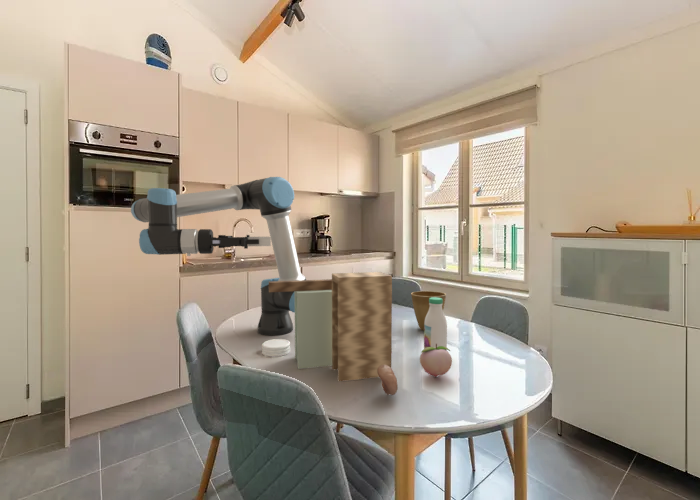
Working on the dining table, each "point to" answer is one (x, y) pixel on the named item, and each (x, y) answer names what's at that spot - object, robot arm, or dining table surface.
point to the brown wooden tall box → (361, 324)
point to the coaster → (276, 347)
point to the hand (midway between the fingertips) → (270, 241)
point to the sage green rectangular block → (313, 328)
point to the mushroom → (387, 379)
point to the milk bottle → (435, 324)
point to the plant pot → (424, 304)
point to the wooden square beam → (300, 285)
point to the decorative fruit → (436, 360)
